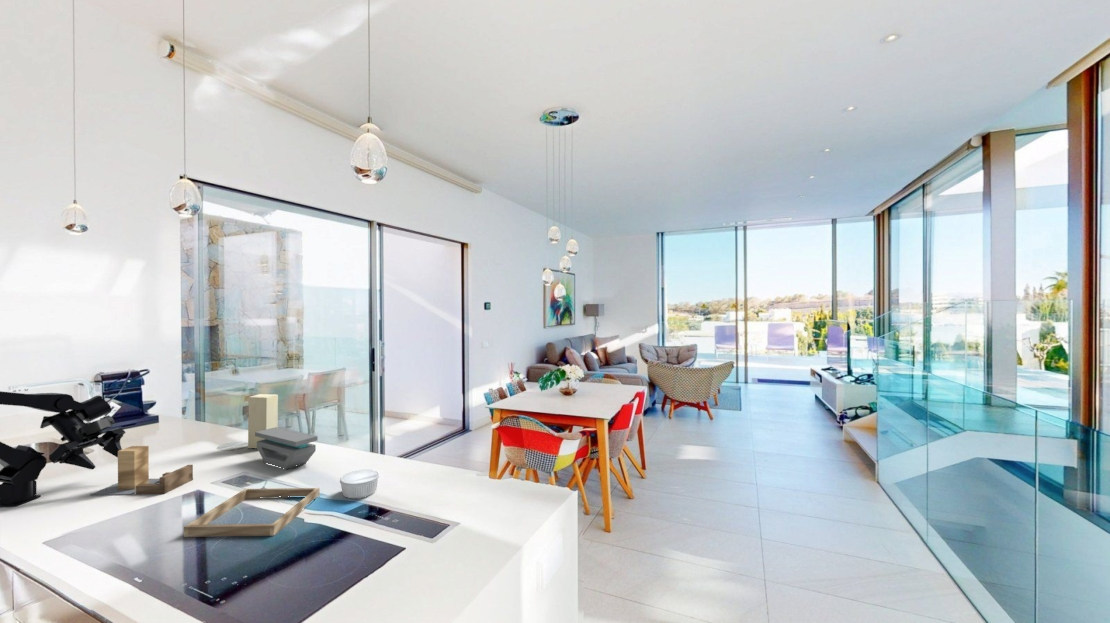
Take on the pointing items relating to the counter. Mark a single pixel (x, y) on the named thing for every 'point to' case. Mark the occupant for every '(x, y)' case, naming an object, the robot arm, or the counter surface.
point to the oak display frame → (203, 530)
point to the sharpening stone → (285, 447)
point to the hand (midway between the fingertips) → (108, 462)
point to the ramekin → (359, 483)
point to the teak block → (133, 467)
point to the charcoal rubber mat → (115, 491)
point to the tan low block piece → (168, 481)
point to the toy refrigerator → (261, 416)
